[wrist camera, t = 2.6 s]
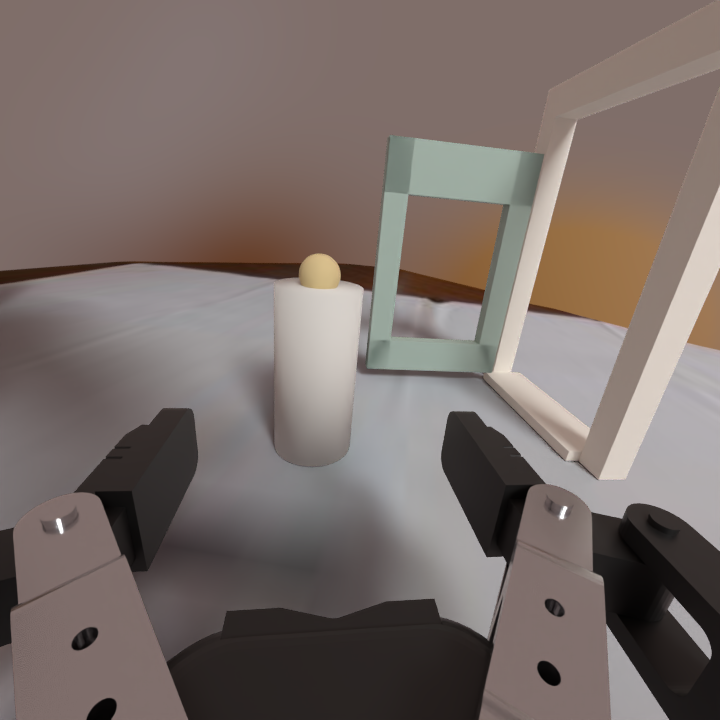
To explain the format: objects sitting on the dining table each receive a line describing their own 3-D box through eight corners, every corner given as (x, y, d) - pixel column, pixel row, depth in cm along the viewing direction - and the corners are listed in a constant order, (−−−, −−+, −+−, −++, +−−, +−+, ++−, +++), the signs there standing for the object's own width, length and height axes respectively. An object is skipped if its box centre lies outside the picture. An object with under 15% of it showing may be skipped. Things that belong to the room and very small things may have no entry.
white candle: (270, 466, 22) (268, 255, 18) (278, 422, 27) (278, 246, 22) (352, 467, 23) (372, 262, 18) (346, 423, 28) (360, 252, 23)
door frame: (584, 480, 24) (797, -59, 14) (475, 370, 40) (538, 87, 31) (638, 479, 24) (878, -41, 15) (508, 371, 41) (580, 94, 31)
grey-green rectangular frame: (480, 362, 39) (526, 158, 32) (491, 372, 37) (544, 154, 30) (363, 358, 38) (384, 141, 30) (366, 368, 35) (390, 135, 28)
